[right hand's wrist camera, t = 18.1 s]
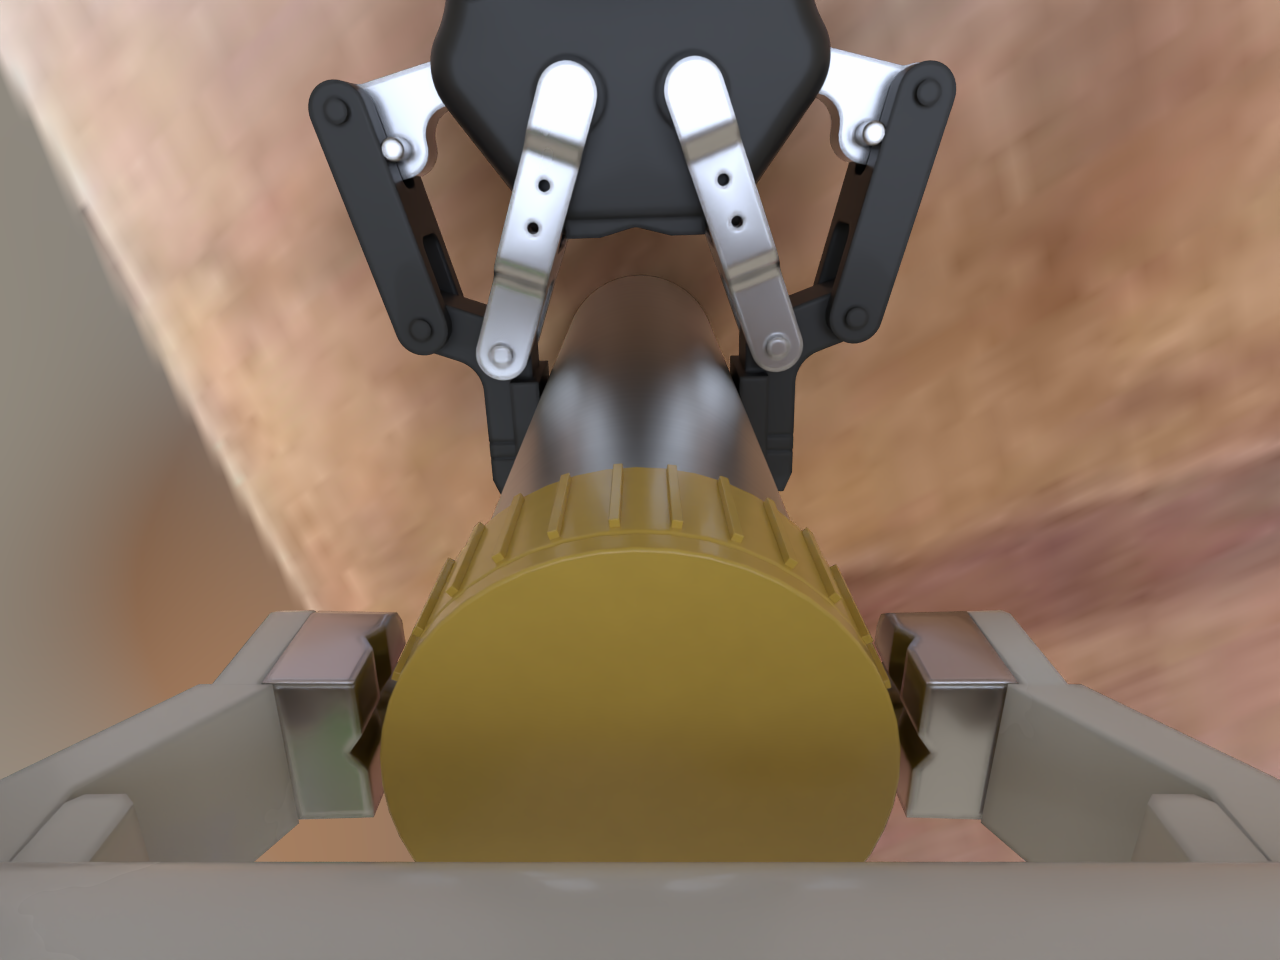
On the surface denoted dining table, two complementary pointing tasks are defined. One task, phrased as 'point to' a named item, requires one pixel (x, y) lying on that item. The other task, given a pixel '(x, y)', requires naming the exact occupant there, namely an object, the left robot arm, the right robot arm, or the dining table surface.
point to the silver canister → (640, 396)
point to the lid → (640, 687)
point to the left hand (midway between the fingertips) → (644, 502)
